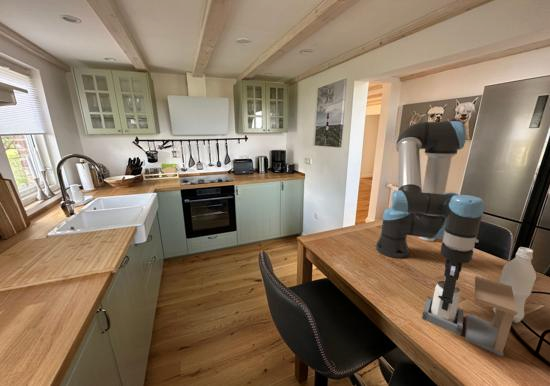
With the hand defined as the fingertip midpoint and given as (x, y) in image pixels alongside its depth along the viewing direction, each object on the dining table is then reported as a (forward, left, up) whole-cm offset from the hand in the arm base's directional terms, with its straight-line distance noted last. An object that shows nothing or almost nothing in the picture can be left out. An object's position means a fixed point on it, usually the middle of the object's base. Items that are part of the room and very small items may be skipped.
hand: (444, 304), depth 73 cm
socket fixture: (+4, 0, -5) cm, 7 cm away
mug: (-14, +66, -5) cm, 68 cm away
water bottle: (+16, +14, -5) cm, 22 cm away
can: (0, 0, -5) cm, 5 cm away
